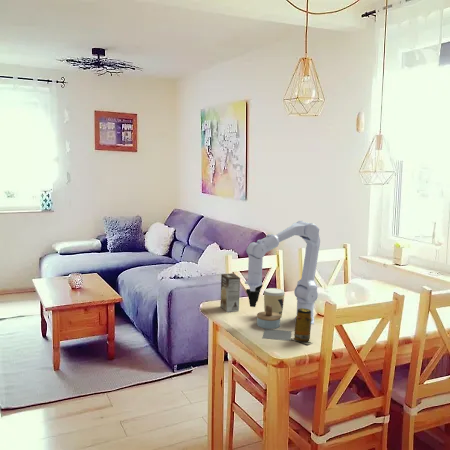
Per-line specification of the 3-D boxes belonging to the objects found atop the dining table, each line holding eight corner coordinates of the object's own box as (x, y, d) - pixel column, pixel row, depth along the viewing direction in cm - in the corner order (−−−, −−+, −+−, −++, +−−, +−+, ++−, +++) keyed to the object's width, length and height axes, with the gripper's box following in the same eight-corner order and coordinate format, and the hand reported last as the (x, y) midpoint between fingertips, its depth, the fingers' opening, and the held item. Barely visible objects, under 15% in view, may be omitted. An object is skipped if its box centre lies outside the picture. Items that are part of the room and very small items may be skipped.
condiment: (299, 336, 193) (302, 306, 192) (317, 341, 187) (320, 311, 186) (289, 339, 187) (291, 309, 186) (307, 345, 182) (310, 314, 181)
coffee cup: (282, 320, 211) (283, 294, 210) (261, 318, 213) (262, 292, 211) (284, 314, 220) (285, 288, 219) (264, 312, 222) (265, 287, 220)
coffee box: (219, 306, 229) (220, 273, 227) (232, 305, 231) (233, 273, 229) (226, 312, 221) (227, 278, 219) (239, 311, 223) (240, 277, 221)
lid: (259, 312, 209) (259, 301, 209) (281, 314, 207) (282, 303, 207) (255, 319, 200) (255, 308, 199) (278, 321, 198) (279, 310, 197)
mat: (264, 329, 199) (264, 328, 199) (291, 332, 197) (291, 331, 197) (262, 339, 188) (262, 338, 188) (290, 341, 186) (290, 340, 186)
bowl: (258, 321, 209) (258, 312, 209) (280, 323, 208) (280, 314, 207) (255, 328, 200) (256, 319, 200) (278, 330, 198) (279, 321, 198)
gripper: (247, 267, 205) (246, 298, 207) (243, 275, 191) (241, 308, 192) (264, 268, 204) (262, 299, 205) (260, 276, 189) (259, 309, 191)
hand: (253, 304), depth 199 cm, fingers open, 7 cm apart
